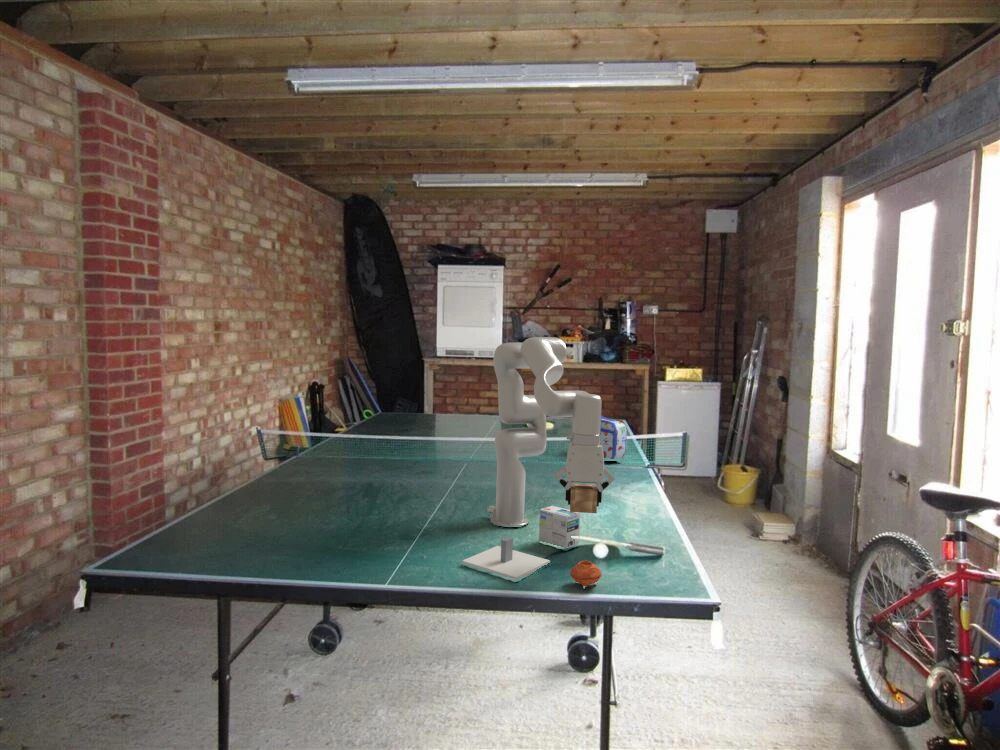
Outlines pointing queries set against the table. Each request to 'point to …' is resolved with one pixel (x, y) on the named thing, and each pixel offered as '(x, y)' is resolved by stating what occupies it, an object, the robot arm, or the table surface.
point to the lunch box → (613, 438)
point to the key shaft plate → (506, 568)
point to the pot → (585, 573)
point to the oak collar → (583, 498)
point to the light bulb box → (559, 526)
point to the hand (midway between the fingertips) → (583, 503)
